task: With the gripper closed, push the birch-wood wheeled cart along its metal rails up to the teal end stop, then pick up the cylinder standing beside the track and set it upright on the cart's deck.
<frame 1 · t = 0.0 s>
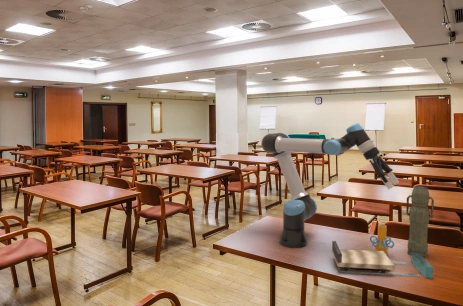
hand: (394, 185, 165), 36 cm above the table, tool tilted 35°, fingers open, 13 cm apart
track: (374, 267, 155), on the table
cart: (361, 256, 155), point 5 cm above the table, slide at 0.0 cm
thermos: (417, 254, 170), on the table
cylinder: (381, 254, 170), on the table
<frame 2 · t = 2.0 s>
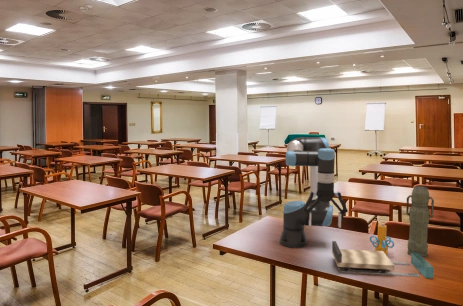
hand: (324, 226, 156), 19 cm above the table, tool pointing down, fingers open, 13 cm apart
nothing on the table moved.
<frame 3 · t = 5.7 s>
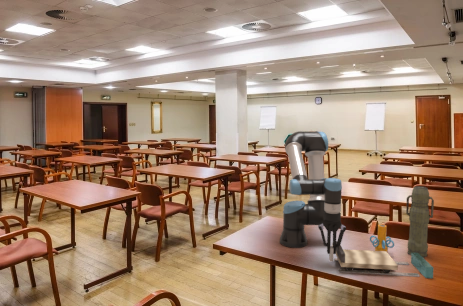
hand: (331, 260, 157), 3 cm above the table, tool pointing down, fingers closed
cart: (364, 256, 155), point 5 cm above the table, slide at 1.5 cm, touching gripper
everything else where it was.
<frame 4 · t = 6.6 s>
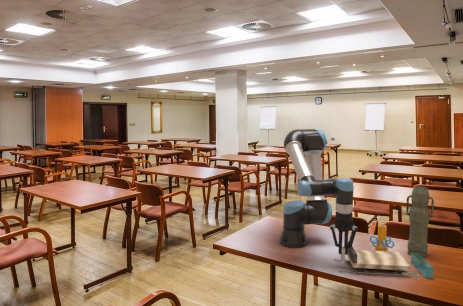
hand: (342, 260, 156), 3 cm above the table, tool pointing down, fingers closed
cart: (376, 257, 154), point 5 cm above the table, slide at 6.7 cm, touching gripper
everything else where it was.
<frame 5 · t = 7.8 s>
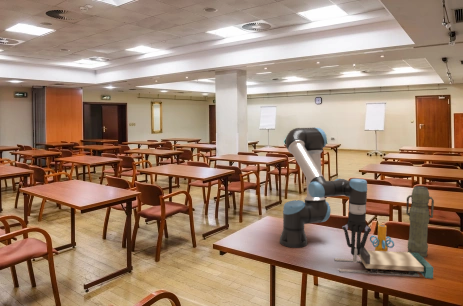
hand: (354, 261, 156), 3 cm above the table, tool pointing down, fingers closed
cart: (388, 258, 154), point 5 cm above the table, slide at 12.1 cm, touching gripper
everything else where it was.
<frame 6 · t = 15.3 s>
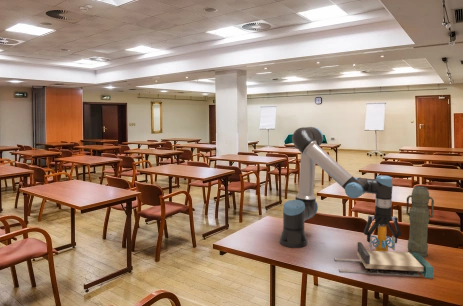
hand: (381, 248, 170), 3 cm above the table, tool pointing down, fingers closed on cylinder, 10 cm apart
cart: (388, 258, 154), point 5 cm above the table, slide at 12.0 cm
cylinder: (381, 254, 170), on the table, touching gripper
everything else where it was.
when the fingers open (9 cm above the table, at t = 22.3 s): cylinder drops 1 cm, resting on cart.
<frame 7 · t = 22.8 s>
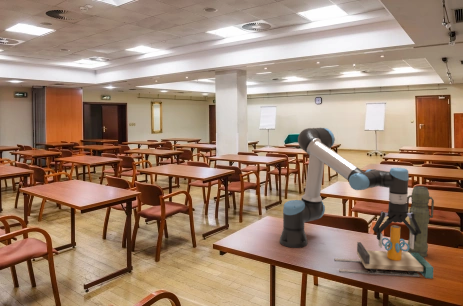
hand: (395, 247, 153), 10 cm above the table, tool pointing down, fingers open, 13 cm apart
cart: (388, 258, 154), point 5 cm above the table, slide at 11.9 cm, touching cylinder
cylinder: (394, 258, 153), point 5 cm above the table, touching cart
everything else where it was.
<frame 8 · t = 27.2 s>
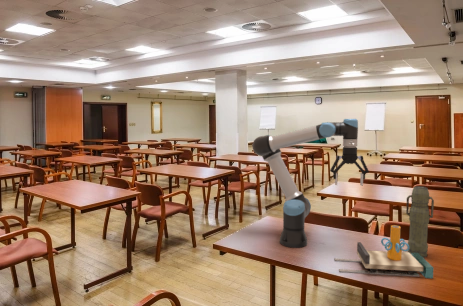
hand: (348, 185, 184), 33 cm above the table, tool pointing down, fingers open, 13 cm apart
nothing on the table moved.
at the end: cart slide at 11.9 cm; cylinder inside the target area (0.4 cm from its centre), point 4.8 cm above the table; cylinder tilted 0° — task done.
